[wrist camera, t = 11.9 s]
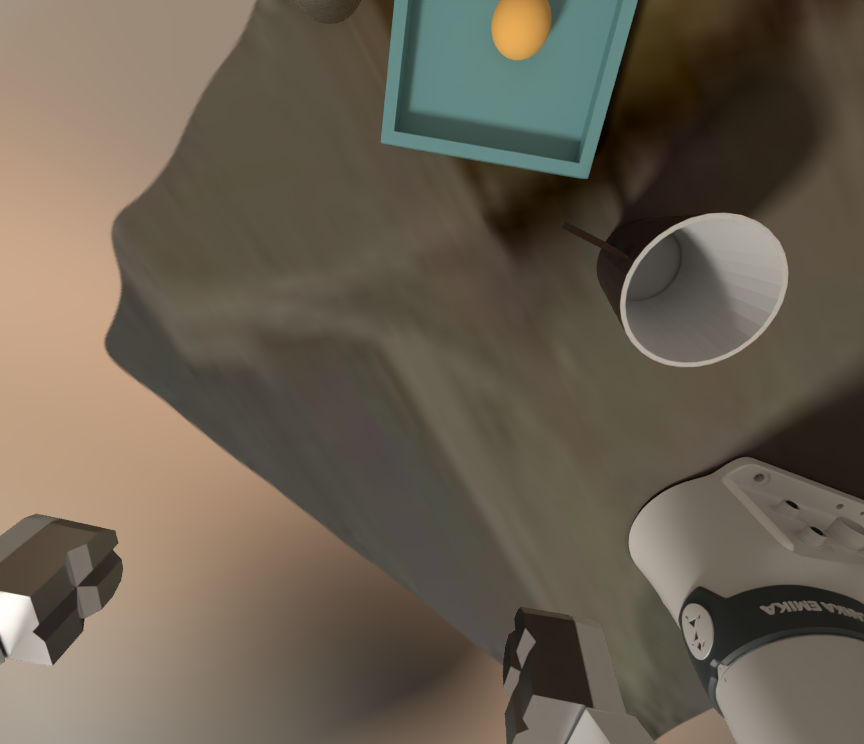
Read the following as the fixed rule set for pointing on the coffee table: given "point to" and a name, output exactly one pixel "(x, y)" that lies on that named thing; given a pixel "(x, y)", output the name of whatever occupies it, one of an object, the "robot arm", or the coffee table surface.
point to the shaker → (328, 9)
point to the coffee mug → (692, 284)
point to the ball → (521, 27)
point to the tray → (503, 84)
